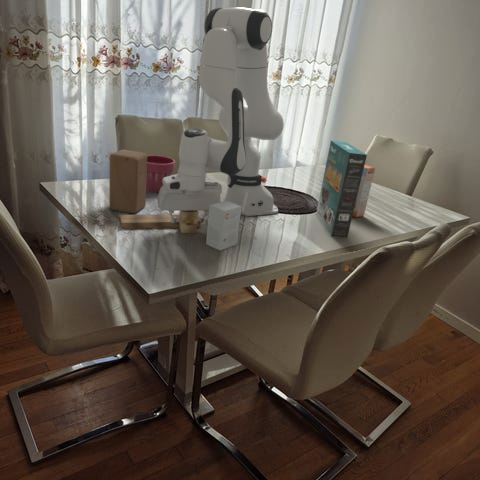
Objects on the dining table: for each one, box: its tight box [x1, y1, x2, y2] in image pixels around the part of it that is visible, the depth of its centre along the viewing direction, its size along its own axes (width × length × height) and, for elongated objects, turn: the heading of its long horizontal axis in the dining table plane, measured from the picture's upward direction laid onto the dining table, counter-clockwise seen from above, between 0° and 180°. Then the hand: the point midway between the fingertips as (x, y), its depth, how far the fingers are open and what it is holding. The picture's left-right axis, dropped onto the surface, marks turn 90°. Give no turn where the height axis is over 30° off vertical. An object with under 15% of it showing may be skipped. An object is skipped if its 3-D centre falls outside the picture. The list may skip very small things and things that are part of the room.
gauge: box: [178, 211, 199, 234], centre depth 141 cm, size 5×9×7 cm, turn 19°
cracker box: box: [352, 164, 376, 218], centre depth 177 cm, size 14×6×21 cm, turn 38°
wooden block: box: [109, 149, 148, 215], centre depth 149 cm, size 10×10×20 cm
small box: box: [205, 200, 242, 252], centre depth 131 cm, size 8×6×13 cm
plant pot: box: [146, 154, 176, 194], centre depth 175 cm, size 14×14×13 cm
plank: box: [119, 213, 202, 230], centre depth 143 cm, size 26×7×2 cm, turn 109°
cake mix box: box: [315, 140, 368, 239], centre depth 156 cm, size 22×6×30 cm, turn 5°
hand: (188, 222), depth 140 cm, fingers open, 8 cm apart
